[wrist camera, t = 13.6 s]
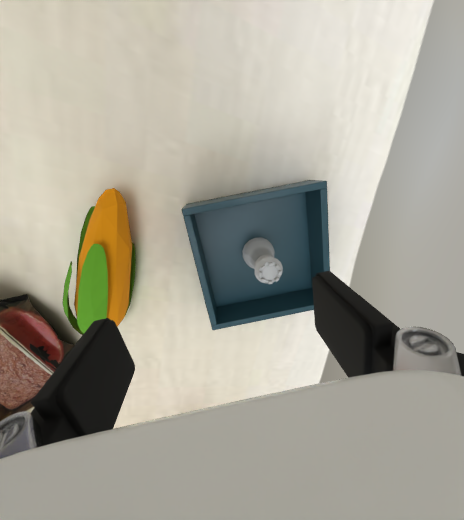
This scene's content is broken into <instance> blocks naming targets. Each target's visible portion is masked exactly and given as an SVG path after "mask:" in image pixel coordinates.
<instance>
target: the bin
mask: <svg viewBox="0 0 464 520" xmlns="http://www.w3.org/2000/svg"><path fill="white" fill-rule="evenodd" d="M182 213H183V216H184V221H185V225H186V229H187V232H188V236H189V240H190V244H191V248H192V252H193V256H194V260H195V264H196V268H197V272H198V275H199V279H200V283H201V287H202V291H203V295H204V299H205V303H206V307H207V311H208V315H209V318H210V322H211V326H212V330H216V329H221V328H226V327H231V326H236V325H241V324H246V323H251V322H256V321H261V320H266V319H270V318H275V317H280V316H285V315H290V314H295V313H300V312H305V311H310V310H314V300H313V285H312V278H313V277H315V275H316V273H320V272H325V271H330V264H329V234H328V204H327V181H315V180H308V181H303V182H298V183H293V184H287V185H282V186H277V187H272V188H267V189H262V190H257V191H252V192H246V193H241V194H236V195H231V196H226V197H221V198H216V199H211V200H206V201H200V202H195V203H190V204H186V205H185V206H184V207H183V208H182ZM253 238H264V239H267V240H268V241H269V242H270V243H271V244H272V246H273V248H274V251H275V252H274V258H276V259H278V260H279V261H280V262H281V264H282V267H283V271H282V275H281V276H280V278H279V280H278V281H277V282H276V281H275V282H273V284H268V283H262V282H260V281H259V280H258V279H257V278H256V276H255V269H253V268H251V267H249V266H248V265H247V264H246V262H245V261H244V259H243V252H242V251H243V248H244V246H245V244H246V243H247V242H248V241H249V240H251V239H253Z"/></svg>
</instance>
